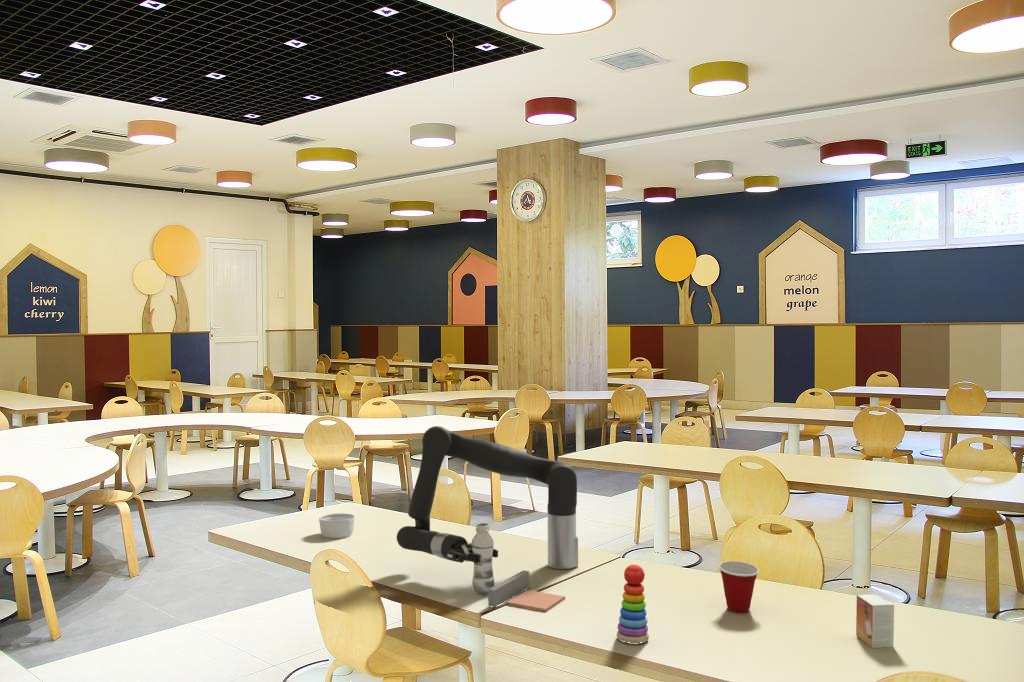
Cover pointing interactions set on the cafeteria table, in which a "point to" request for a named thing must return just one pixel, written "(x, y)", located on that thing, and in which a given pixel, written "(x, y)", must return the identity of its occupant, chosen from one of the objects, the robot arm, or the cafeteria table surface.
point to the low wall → (508, 588)
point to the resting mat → (536, 600)
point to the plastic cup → (738, 584)
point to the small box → (875, 621)
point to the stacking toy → (633, 608)
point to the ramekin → (337, 525)
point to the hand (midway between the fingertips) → (488, 556)
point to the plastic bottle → (483, 559)
